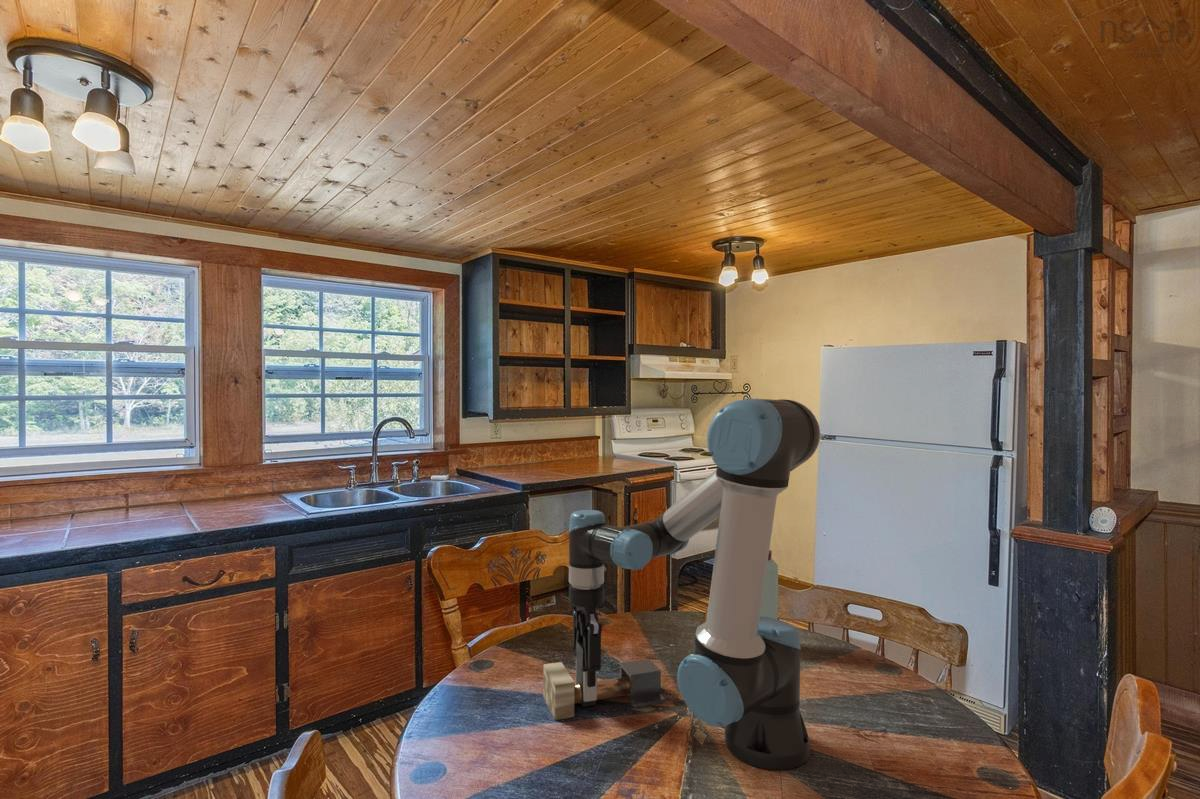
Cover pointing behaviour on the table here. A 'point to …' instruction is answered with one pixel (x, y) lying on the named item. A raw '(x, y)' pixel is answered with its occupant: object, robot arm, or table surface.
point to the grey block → (643, 682)
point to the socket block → (558, 690)
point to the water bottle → (770, 590)
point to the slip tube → (603, 687)
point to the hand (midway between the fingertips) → (585, 694)
